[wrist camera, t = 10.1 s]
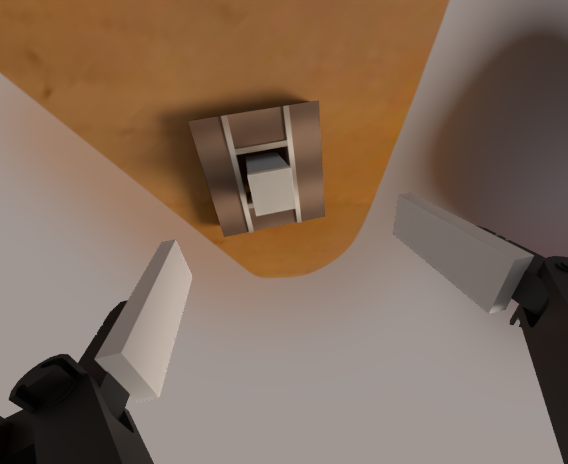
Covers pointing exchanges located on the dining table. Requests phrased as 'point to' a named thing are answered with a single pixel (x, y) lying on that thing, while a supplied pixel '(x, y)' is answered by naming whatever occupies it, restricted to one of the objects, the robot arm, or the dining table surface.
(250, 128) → the socket block
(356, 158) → the dining table surface
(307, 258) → the dining table surface
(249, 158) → the peg
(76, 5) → the dining table surface
